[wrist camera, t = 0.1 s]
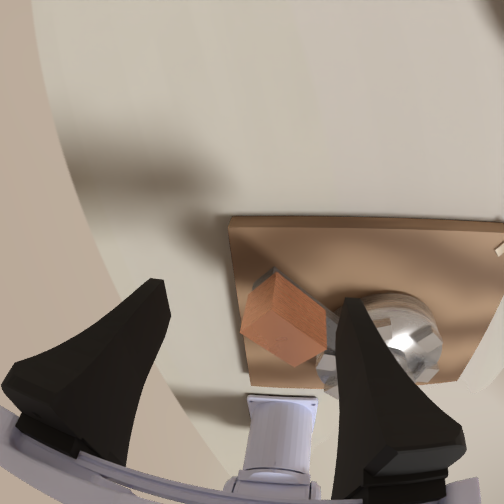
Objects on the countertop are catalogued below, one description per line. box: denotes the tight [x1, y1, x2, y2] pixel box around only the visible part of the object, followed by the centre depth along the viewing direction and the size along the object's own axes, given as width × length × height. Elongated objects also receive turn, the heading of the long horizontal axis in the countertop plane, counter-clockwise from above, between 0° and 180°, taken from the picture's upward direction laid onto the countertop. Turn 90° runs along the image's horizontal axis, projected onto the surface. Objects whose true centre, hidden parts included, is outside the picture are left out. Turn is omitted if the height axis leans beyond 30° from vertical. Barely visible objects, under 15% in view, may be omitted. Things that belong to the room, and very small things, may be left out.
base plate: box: [228, 216, 504, 389], centre depth 24 cm, size 18×22×2 cm
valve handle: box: [240, 266, 443, 399], centre depth 21 cm, size 17×10×6 cm, turn 49°
